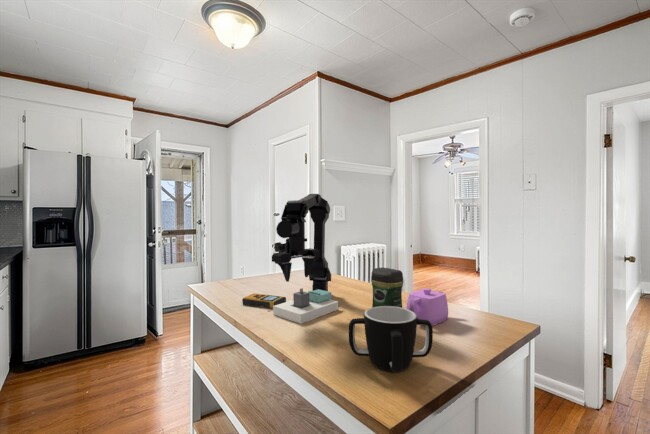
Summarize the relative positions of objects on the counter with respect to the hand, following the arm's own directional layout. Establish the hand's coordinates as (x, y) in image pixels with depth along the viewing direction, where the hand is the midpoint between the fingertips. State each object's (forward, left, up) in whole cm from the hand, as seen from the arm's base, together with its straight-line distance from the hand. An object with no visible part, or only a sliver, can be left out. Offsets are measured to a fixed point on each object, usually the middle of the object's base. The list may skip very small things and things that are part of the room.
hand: (297, 279), depth 112 cm
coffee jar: (-8, +32, -12) cm, 35 cm away
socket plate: (-3, +2, -12) cm, 12 cm away
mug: (+11, +44, -12) cm, 47 cm away
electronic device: (+1, -18, -13) cm, 22 cm away
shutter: (-9, +2, -9) cm, 13 cm away
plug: (0, +2, -12) cm, 12 cm away
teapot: (-24, +38, -12) cm, 47 cm away
